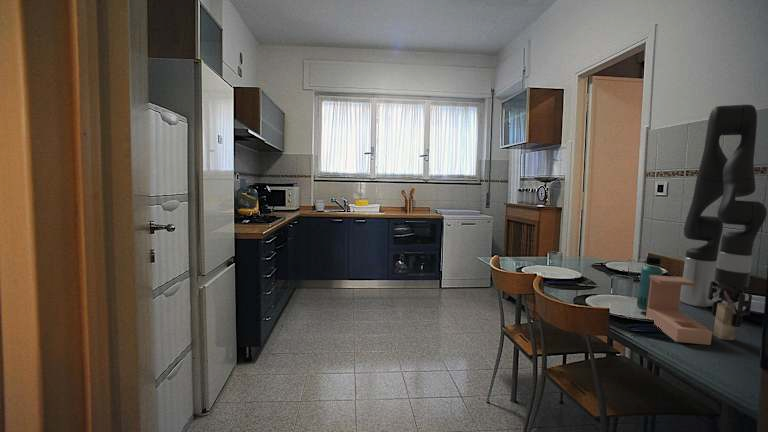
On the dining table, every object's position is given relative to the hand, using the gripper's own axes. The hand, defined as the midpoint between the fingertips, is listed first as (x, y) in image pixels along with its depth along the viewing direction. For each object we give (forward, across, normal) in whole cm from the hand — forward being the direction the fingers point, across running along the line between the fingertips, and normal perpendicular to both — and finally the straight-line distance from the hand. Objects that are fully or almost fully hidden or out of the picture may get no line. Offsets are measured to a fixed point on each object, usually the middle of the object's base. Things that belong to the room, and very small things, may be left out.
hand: (725, 321), depth 119 cm
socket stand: (+5, +2, +12) cm, 13 cm away
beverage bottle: (+5, +17, +13) cm, 22 cm away
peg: (+5, 0, 0) cm, 5 cm away
